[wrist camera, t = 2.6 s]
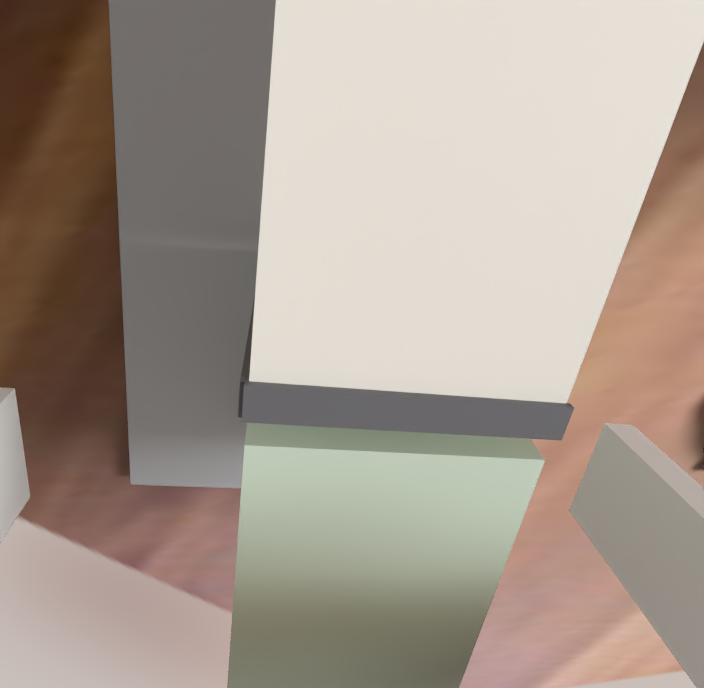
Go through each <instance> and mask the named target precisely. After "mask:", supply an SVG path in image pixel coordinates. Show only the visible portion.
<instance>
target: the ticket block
mask: <svg viewBox="0 0 704 688" xmlns="http://www.w3.org/2000/svg"><path fill="white" fill-rule="evenodd" d="M109 20H110V42H111V64H112V86H113V108H114V130H115V152H116V174H117V196H118V218H119V239H120V261H121V283H122V305H123V327H124V349H125V371H126V393H127V415H128V437H129V459H130V481H131V485H158V486H187V487H216V488H241V487H242V473H243V459H244V445H245V437H246V429H247V423H261V424H279V425H297V426H315V427H333V428H351V429H368V430H386V431H404V432H422V433H440V434H457V435H475V436H493V437H511V438H529V439H547V440H562V438H563V435H564V433H565V430H566V427H567V425H568V422H569V420H570V417H571V415H572V412H573V409H574V407H573V406H572V405H571V404H568V403H567V401H568V398H569V396H570V393H571V390H572V388H573V385H574V382H575V380H576V377H577V374H578V372H579V369H580V367H581V364H582V361H583V359H584V356H585V353H586V351H587V348H588V345H589V343H590V340H591V337H592V335H593V332H594V330H595V327H596V324H597V322H598V319H599V316H600V314H601V311H602V308H603V306H604V303H605V301H606V298H607V295H608V293H609V290H610V287H611V285H612V282H613V279H614V277H615V274H616V271H617V269H618V266H619V264H620V261H621V258H622V256H623V253H624V250H625V248H626V245H627V242H628V240H629V237H630V235H631V232H632V229H633V227H634V224H635V221H636V219H637V216H638V213H639V211H640V208H641V206H642V203H643V200H644V198H645V195H646V192H647V190H648V187H649V184H650V182H651V179H652V176H653V174H654V171H655V169H656V166H657V163H658V161H659V158H660V155H661V153H662V150H663V147H664V145H665V142H666V140H667V137H668V134H669V132H670V129H671V126H672V124H673V121H674V118H675V116H676V113H677V110H678V108H679V105H680V103H681V100H682V97H683V95H684V92H685V89H686V87H687V84H688V81H689V79H690V76H691V74H692V71H693V68H694V66H695V63H696V60H697V58H698V55H699V52H700V50H701V47H702V44H703V42H704V0H109Z"/></svg>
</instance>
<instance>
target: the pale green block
mask: <svg viewBox="0 0 704 688" xmlns="http://www.w3.org/2000/svg"><path fill="white" fill-rule="evenodd" d="M544 462H545V459H544V458H543V456H542V455H541V454H540V452H539V451H538V449H537V448H536V447H535V445H534V444H533V443H532V441H531V440H530V439H529V438H511V437H493V436H475V435H457V434H440V433H422V432H404V431H386V430H368V429H351V428H333V427H315V426H297V425H279V424H261V423H247V429H246V437H245V445H244V459H243V473H242V487H241V501H240V515H239V529H238V544H237V558H236V572H235V586H234V600H233V614H232V628H231V643H230V657H229V671H228V685H227V688H459V686H460V683H461V681H462V678H463V675H464V673H465V670H466V667H467V665H468V662H469V660H470V657H471V654H472V652H473V649H474V646H475V644H476V641H477V638H478V636H479V633H480V630H481V628H482V625H483V623H484V620H485V617H486V615H487V612H488V609H489V607H490V604H491V601H492V599H493V596H494V594H495V591H496V588H497V586H498V583H499V580H500V578H501V575H502V572H503V570H504V567H505V564H506V562H507V559H508V557H509V554H510V551H511V549H512V546H513V543H514V541H515V538H516V535H517V533H518V530H519V528H520V525H521V522H522V520H523V517H524V514H525V512H526V509H527V506H528V504H529V501H530V498H531V496H532V493H533V491H534V488H535V485H536V483H537V480H538V477H539V475H540V472H541V469H542V467H543V464H544Z"/></svg>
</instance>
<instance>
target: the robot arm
mask: <svg viewBox="0 0 704 688" xmlns="http://www.w3.org/2000/svg"><path fill="white" fill-rule="evenodd" d="M29 498H30V490H29V483H28V476H27V469H26V462H25V455H24V448H23V441H22V434H21V428H20V421H19V414H18V407H17V400H16V393H15V388H2V387H0V543H1V541H2V539H3V538H4V536H5V535H6V533H7V532H8V530H9V529H10V527H11V526H12V524H13V523H14V521H15V520H16V518H17V517H18V515H19V514H20V512H21V511H22V509H23V507H24V506H25V504H26V503H27V501H28V500H29ZM569 511H570V512H571V514H572V515H573V516H574V518H575V519H576V521H577V522H578V523H579V525H580V526H581V527H582V529H583V530H584V532H585V533H586V534H587V536H588V537H589V539H590V540H591V541H592V543H593V544H594V546H595V547H596V548H597V550H598V551H599V553H600V554H601V555H602V557H603V558H604V559H605V561H606V562H607V564H608V565H609V566H610V568H611V569H612V571H613V572H614V573H615V575H616V576H617V578H618V579H619V580H620V582H621V583H622V585H623V586H624V587H625V589H626V590H627V591H628V593H629V594H630V596H631V597H632V598H633V600H634V601H635V603H636V604H637V605H638V607H639V608H640V610H641V611H642V612H643V614H644V615H645V616H646V618H647V619H648V621H649V622H650V623H651V625H652V626H653V628H654V629H655V630H656V632H657V633H658V635H659V636H660V637H661V639H662V640H663V642H664V643H665V644H666V646H667V647H668V648H669V650H670V651H671V653H672V654H673V655H674V657H675V658H676V660H677V661H678V662H679V664H680V665H681V667H682V668H683V669H684V671H685V672H686V673H687V675H688V676H689V678H690V679H691V680H692V682H693V683H694V685H695V686H696V687H697V688H704V488H703V487H702V486H701V485H700V484H698V483H697V482H696V481H695V480H694V479H693V478H692V477H691V476H690V475H688V474H687V473H686V472H685V471H684V470H683V469H682V468H681V467H679V466H678V465H677V464H676V463H675V462H674V461H673V460H672V459H671V458H669V457H668V456H667V455H666V454H665V453H664V452H663V451H662V450H660V449H659V448H658V447H657V446H656V445H655V444H654V443H653V442H651V441H650V440H649V439H648V438H647V437H646V436H645V435H644V434H643V433H641V432H640V431H639V430H638V429H637V428H636V427H635V426H634V425H627V424H610V423H605V425H604V427H603V430H602V432H601V434H600V437H599V439H598V442H597V444H596V447H595V449H594V451H593V454H592V456H591V459H590V461H589V463H588V466H587V468H586V471H585V473H584V476H583V478H582V480H581V483H580V485H579V488H578V490H577V493H576V495H575V497H574V500H573V502H572V505H571V507H570V510H569Z"/></svg>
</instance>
